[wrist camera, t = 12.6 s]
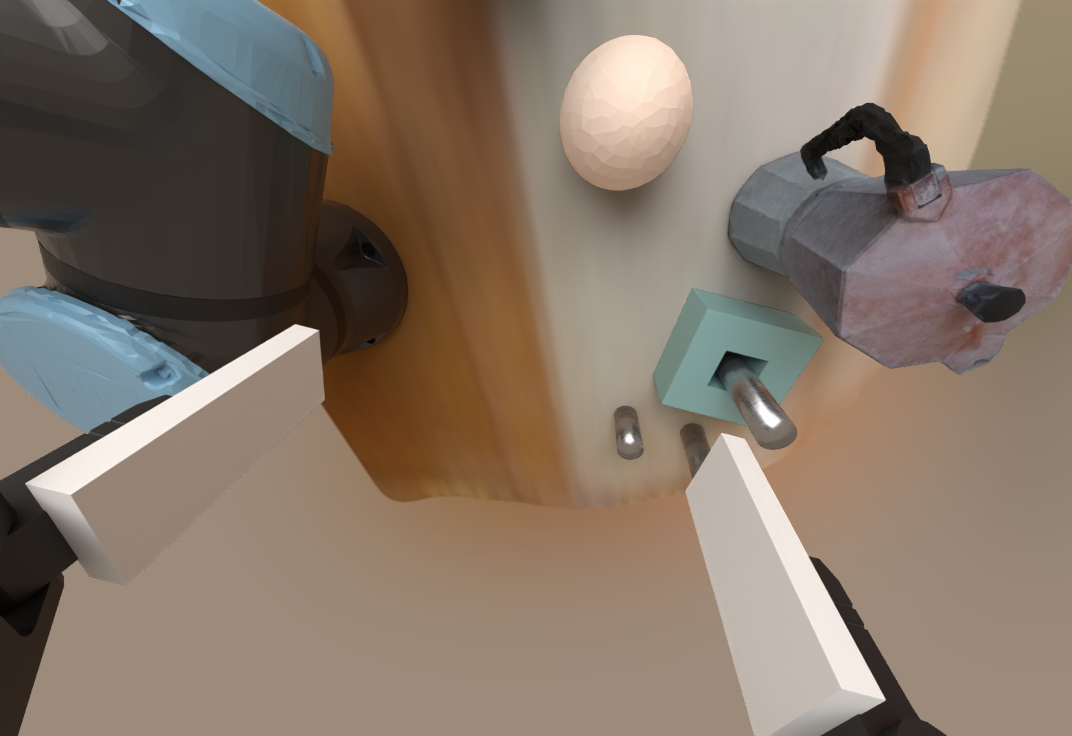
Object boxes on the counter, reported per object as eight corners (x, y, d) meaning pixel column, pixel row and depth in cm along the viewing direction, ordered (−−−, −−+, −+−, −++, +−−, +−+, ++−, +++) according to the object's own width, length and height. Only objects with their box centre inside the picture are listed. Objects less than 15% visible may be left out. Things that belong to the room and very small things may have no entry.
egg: (541, 124, 31) (519, 111, 21) (628, 24, 27) (650, -48, 17) (609, 207, 33) (617, 230, 24) (696, 126, 30) (749, 113, 20)
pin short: (611, 420, 45) (614, 455, 40) (618, 403, 44) (622, 437, 38) (632, 426, 45) (638, 462, 40) (640, 409, 44) (647, 444, 38)
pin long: (711, 332, 38) (768, 416, 26) (736, 338, 38) (805, 425, 26) (700, 354, 39) (749, 444, 27) (724, 360, 39) (784, 453, 27)
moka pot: (769, 310, 36) (933, 455, 19) (675, 180, 32) (777, 215, 15) (879, 240, 32) (1212, 344, 15) (788, 80, 28) (1113, -34, 11)
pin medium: (676, 436, 45) (693, 505, 36) (687, 420, 43) (708, 488, 35) (696, 443, 45) (718, 514, 36) (708, 428, 44) (734, 498, 35)
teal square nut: (653, 374, 41) (661, 404, 36) (692, 288, 36) (707, 308, 31) (742, 397, 41) (761, 429, 36) (793, 314, 36) (824, 338, 31)
